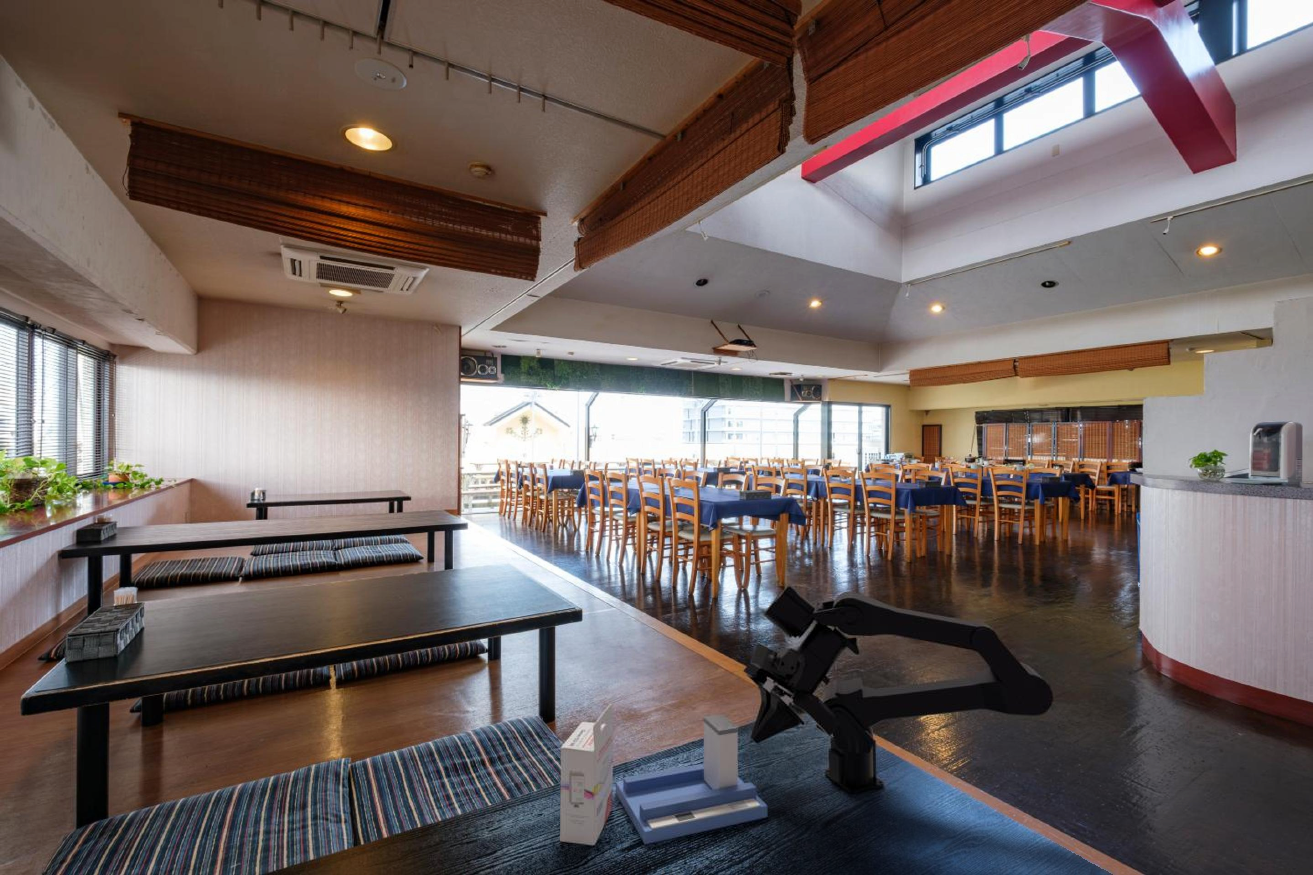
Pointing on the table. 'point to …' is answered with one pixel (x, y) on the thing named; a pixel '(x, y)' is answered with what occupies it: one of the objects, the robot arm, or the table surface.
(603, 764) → the ink cartridge box
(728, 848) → the table surface
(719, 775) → the switch tab
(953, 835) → the table surface
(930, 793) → the table surface
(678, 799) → the blue railed tray
